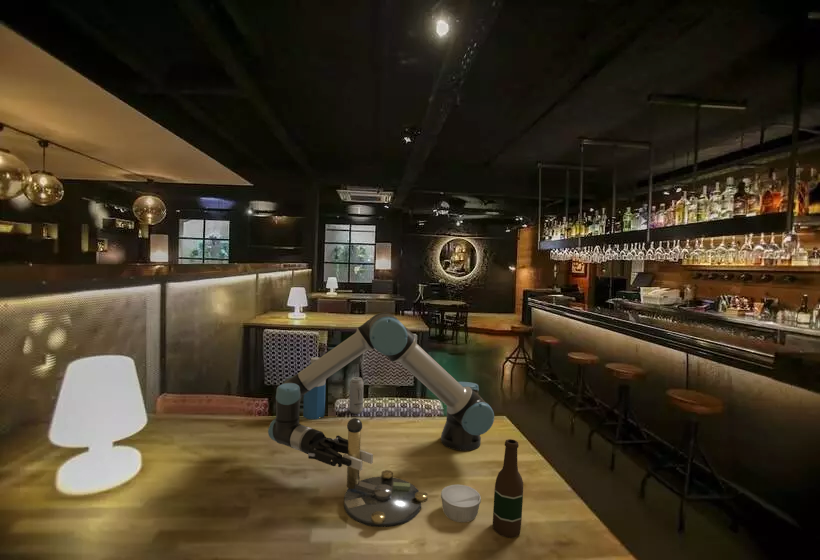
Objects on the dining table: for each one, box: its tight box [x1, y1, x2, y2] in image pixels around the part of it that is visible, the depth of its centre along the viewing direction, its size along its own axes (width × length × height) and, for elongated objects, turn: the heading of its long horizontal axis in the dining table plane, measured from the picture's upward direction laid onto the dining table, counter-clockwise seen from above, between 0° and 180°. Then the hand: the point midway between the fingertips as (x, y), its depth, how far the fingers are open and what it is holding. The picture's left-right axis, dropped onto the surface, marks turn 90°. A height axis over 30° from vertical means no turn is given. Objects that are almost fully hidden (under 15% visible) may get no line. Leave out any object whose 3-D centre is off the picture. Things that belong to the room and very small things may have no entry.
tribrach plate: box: [343, 469, 429, 528], centre depth 126 cm, size 24×26×3 cm
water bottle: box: [302, 356, 327, 420], centre depth 189 cm, size 9×9×25 cm
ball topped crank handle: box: [346, 417, 392, 501], centre depth 127 cm, size 15×5×21 cm, turn 67°
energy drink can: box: [348, 376, 365, 415], centre depth 195 cm, size 6×6×15 cm
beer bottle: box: [492, 438, 524, 539], centre depth 116 cm, size 8×8×24 cm
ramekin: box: [440, 484, 482, 523], centre depth 123 cm, size 11×11×5 cm
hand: (366, 462), depth 126 cm, fingers open, 4 cm apart
